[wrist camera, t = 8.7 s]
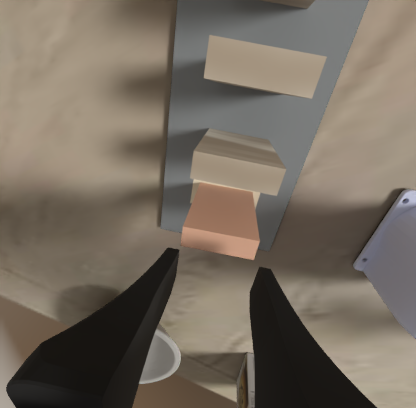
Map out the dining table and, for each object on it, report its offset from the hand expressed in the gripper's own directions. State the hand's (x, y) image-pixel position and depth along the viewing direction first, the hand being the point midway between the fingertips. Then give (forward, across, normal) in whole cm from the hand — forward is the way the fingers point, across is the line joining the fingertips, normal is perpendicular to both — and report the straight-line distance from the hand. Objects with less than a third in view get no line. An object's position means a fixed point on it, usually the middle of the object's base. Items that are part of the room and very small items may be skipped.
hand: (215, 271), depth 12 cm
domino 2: (+10, 0, -5) cm, 11 cm away
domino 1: (+10, 0, -10) cm, 14 cm away
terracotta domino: (+10, 0, 0) cm, 10 cm away
